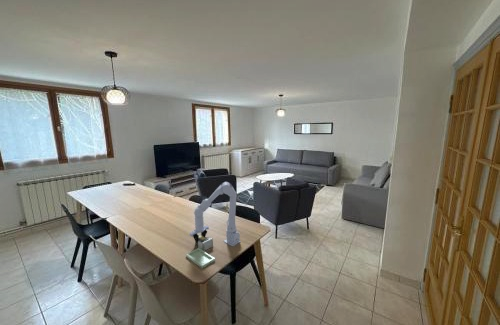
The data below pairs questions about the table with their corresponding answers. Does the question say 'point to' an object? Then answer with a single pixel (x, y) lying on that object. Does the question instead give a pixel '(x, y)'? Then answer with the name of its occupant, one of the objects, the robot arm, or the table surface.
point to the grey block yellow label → (201, 238)
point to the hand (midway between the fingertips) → (200, 241)
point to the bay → (206, 244)
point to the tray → (200, 257)
